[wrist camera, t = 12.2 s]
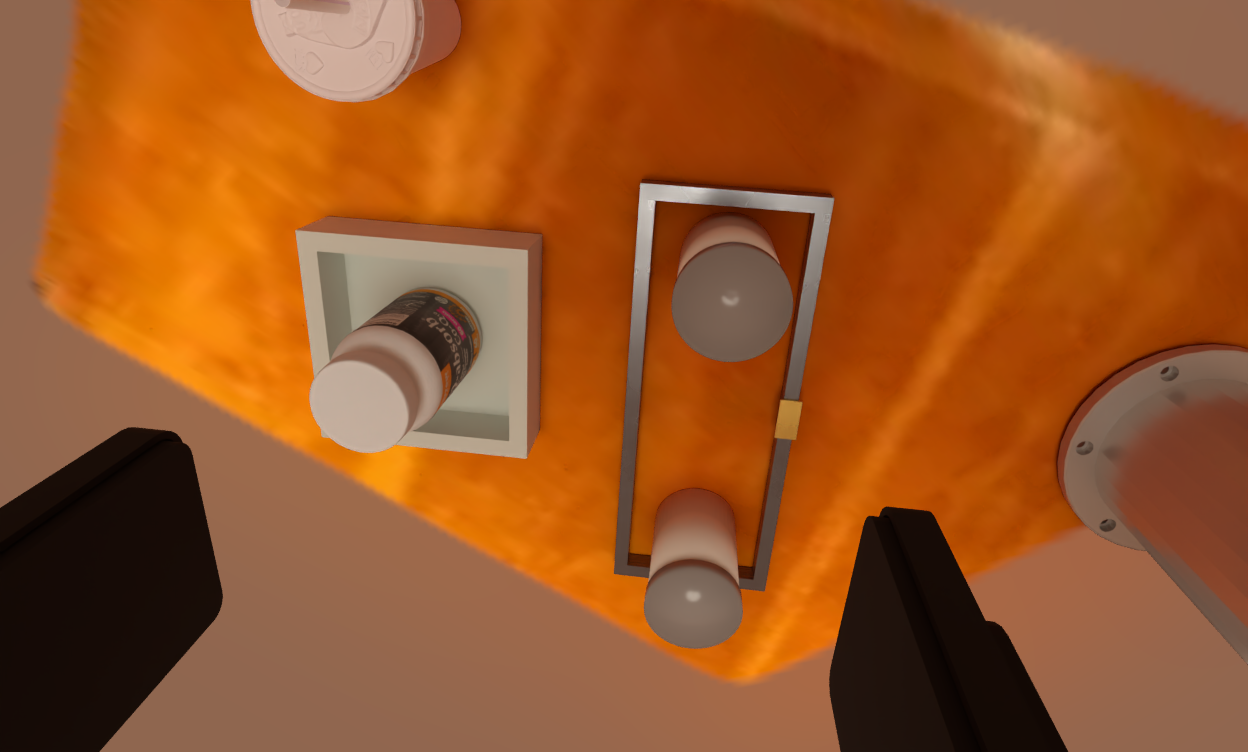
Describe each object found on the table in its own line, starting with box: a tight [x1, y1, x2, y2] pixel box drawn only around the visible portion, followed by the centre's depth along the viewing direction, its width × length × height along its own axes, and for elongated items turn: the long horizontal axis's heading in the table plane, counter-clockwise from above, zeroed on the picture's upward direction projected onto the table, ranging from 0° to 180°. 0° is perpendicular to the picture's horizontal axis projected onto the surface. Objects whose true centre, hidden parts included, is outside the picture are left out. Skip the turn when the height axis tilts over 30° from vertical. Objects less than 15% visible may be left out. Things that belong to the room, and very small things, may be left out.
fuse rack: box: [614, 179, 834, 591], centre depth 41 cm, size 10×25×1 cm, turn 176°
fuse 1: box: [672, 212, 793, 362], centre depth 35 cm, size 5×5×8 cm
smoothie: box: [251, 0, 461, 102], centre depth 29 cm, size 6×6×14 cm
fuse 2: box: [644, 488, 743, 649], centre depth 42 cm, size 5×5×8 cm
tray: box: [295, 216, 542, 459], centre depth 40 cm, size 12×12×4 cm
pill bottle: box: [310, 288, 481, 453], centre depth 37 cm, size 6×6×10 cm
